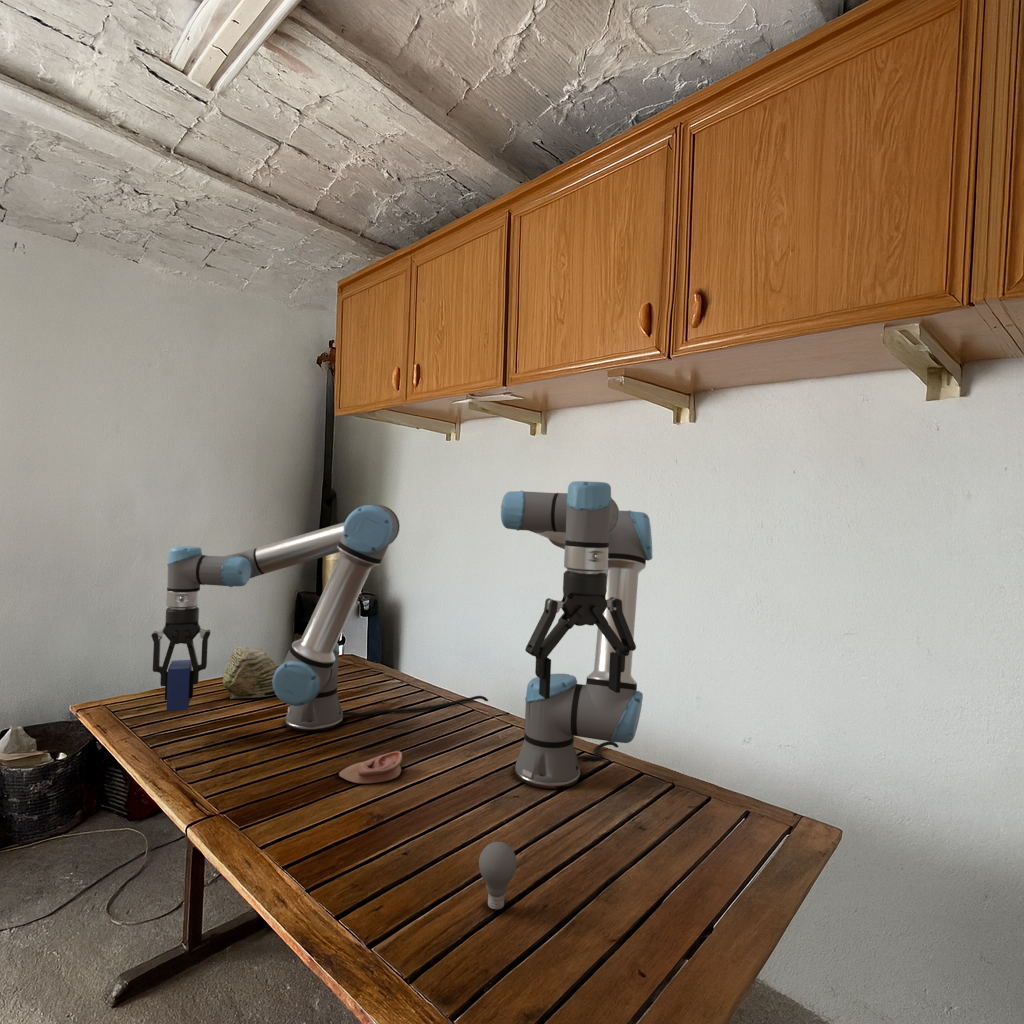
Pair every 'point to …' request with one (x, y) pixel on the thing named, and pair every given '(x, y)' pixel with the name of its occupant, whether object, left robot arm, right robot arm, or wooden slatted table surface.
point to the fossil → (249, 673)
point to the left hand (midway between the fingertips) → (179, 697)
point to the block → (178, 685)
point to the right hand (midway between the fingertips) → (579, 693)
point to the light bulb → (497, 871)
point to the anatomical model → (374, 769)
